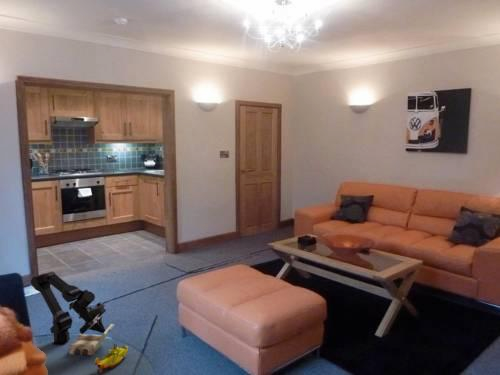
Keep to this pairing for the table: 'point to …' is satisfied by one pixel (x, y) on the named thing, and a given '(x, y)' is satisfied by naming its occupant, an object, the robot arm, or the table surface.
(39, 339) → the table surface
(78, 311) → the robot arm
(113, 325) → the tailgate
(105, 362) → the toy boat
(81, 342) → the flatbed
